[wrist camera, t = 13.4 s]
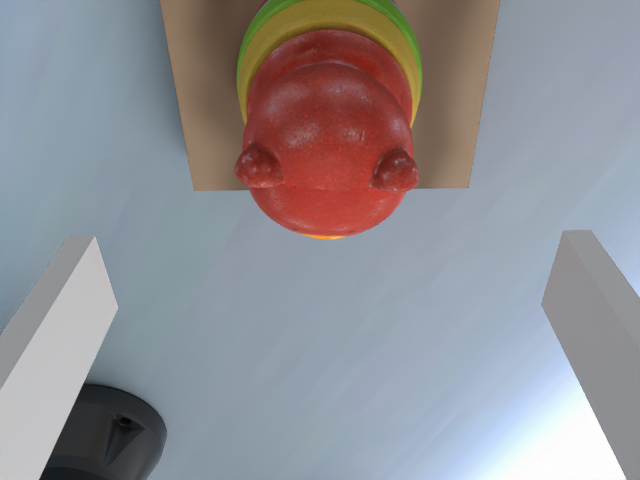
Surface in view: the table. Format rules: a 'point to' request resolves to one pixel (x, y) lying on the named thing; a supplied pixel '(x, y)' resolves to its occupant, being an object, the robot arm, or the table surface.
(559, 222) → the table surface
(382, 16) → the stacking bear
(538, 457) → the table surface
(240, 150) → the walnut plinth
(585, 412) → the table surface
